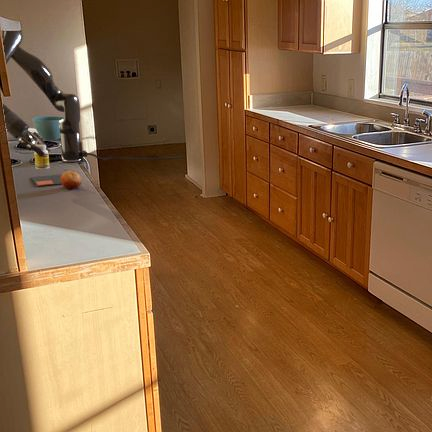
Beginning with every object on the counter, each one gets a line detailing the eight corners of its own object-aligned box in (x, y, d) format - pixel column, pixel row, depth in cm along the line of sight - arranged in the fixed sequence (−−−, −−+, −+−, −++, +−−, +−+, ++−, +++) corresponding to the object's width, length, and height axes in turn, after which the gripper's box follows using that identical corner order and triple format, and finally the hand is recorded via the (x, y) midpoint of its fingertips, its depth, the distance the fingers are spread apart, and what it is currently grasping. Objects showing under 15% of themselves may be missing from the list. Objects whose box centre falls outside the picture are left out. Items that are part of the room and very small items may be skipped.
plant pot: (33, 137, 341) (31, 116, 338) (65, 135, 350) (63, 115, 346) (36, 142, 326) (34, 121, 322) (69, 140, 335) (68, 119, 331)
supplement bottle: (45, 170, 236) (42, 146, 233) (33, 169, 237) (30, 145, 234) (52, 167, 241) (50, 144, 238) (40, 166, 242) (38, 143, 239)
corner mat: (69, 174, 258) (69, 173, 258) (77, 182, 245) (77, 181, 245) (31, 178, 250) (31, 177, 250) (37, 186, 237) (37, 185, 237)
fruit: (68, 180, 242) (74, 166, 238) (81, 192, 240) (86, 177, 236) (53, 184, 235) (58, 170, 231) (66, 196, 233) (72, 181, 230)
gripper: (11, 120, 226) (45, 151, 230) (26, 115, 240) (58, 144, 244) (-1, 133, 227) (33, 163, 231) (15, 128, 241) (46, 156, 245)
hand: (45, 153), depth 237 cm, fingers closed on supplement bottle, 5 cm apart
